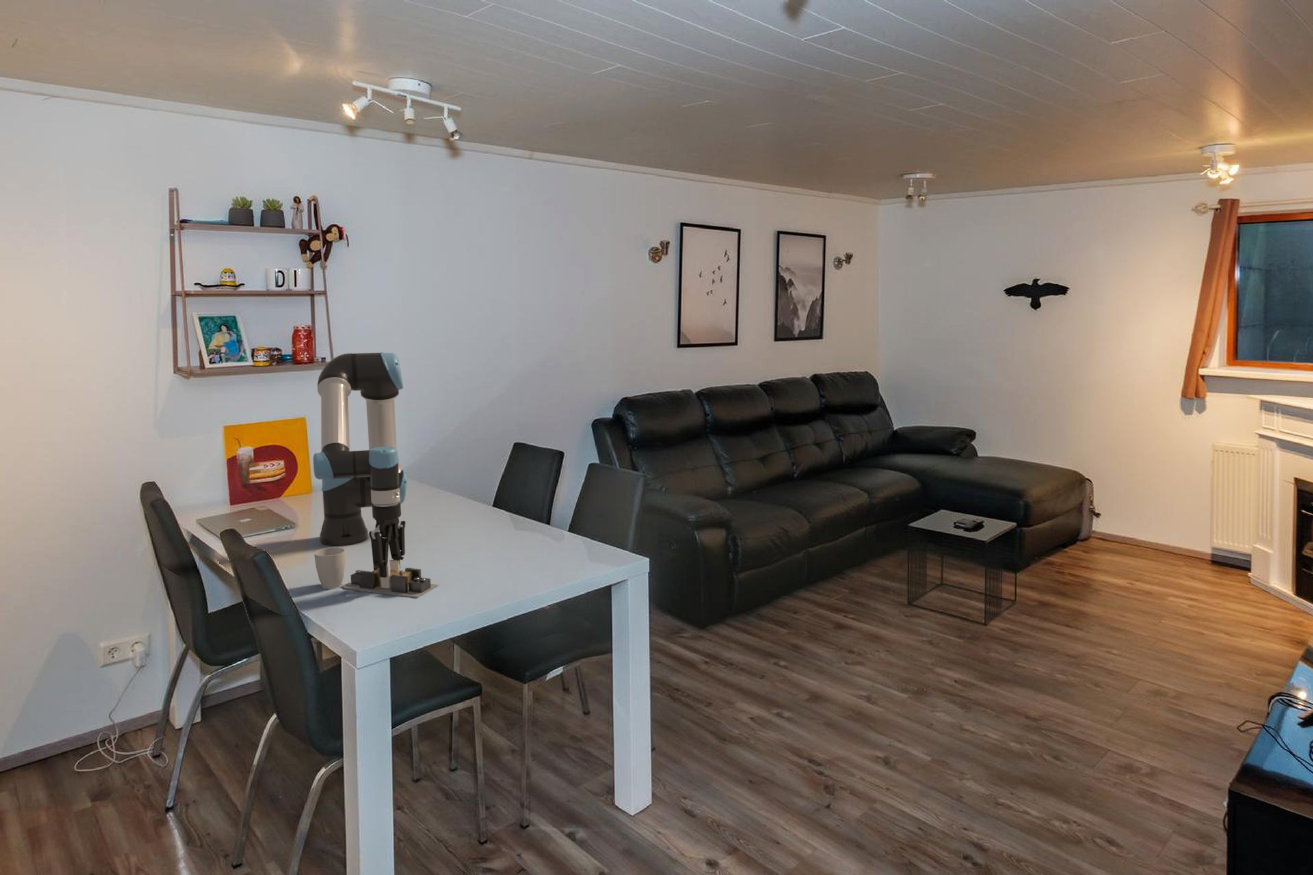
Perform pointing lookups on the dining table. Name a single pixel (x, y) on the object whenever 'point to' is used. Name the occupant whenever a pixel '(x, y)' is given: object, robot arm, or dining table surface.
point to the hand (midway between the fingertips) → (390, 585)
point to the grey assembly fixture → (393, 581)
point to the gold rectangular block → (392, 572)
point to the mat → (389, 590)
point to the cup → (330, 566)
